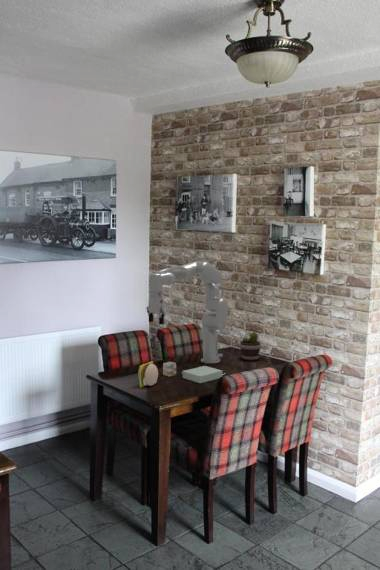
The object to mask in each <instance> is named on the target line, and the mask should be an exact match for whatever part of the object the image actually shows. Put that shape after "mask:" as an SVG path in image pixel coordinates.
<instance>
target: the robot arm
mask: <svg viewBox="0 0 380 570" xmlns="http://www.w3.org/2000/svg"><path fill="white" fill-rule="evenodd" d="M148 276H149V279H148V281H149V285H148V286H149V287H148V288H149V296H148V306H146V307H145V308H146V312H147V316H148V322H149V323H152V322H154V314H156V315H158V316H159V318H158V324H159V325H164V323H165V316H166V313H167V310H166V309H165V301H164V300H165V299H164V297H163V286H170V285H171V286H172V285H173V284H174V283H175V281H176V280H177V281H178V280H186V279H189V278H193V277H195V276H198V277H199V280H200V281H201V282H202V284H203V285H204V287H205V304H204V307H205V310H207V311H209V312H206V313H204V314H203V315H202V317H201V326H202V336H203V337H202V342H203V343H202V345H203V346H202V348H203V349H202V353H203V355H202V358H201V359H200V362H201V363H203V362H204V363H203V364H217V363H220V362H221V359H220V358H221V357H223V356H224V355H223V353H219V345H218V344H219V333H218V330H219V331H222V330H224V329H225V328H226V326H227V324H228V314H229V303H228V301H227V299H225V298H223V297H220V287H219V284H221V282H222V281H223V277H224V276H223V273H222V272H221V271H220V269H218V268H216V267H215V265H212V264H211V263H210V262H207V261H202V260H195V261H193V262H189V263H185V264H182V265H178V266H173V267H169V268H164V269H161V270H158V271H156V272H153V273H150V274H149V275H148ZM212 312H213V313H212Z"/></svg>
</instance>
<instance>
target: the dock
mask: <svg viewBox="0 0 380 570" xmlns="http://www.w3.org/2000/svg"><path fill="white" fill-rule="evenodd" d="M223 372H224V371H223V370H221V369H217V368H215V367H211V366H207V365H202V366H199V367H194V368H189V369H185V370H182V379H185V380H188V381H191V382H194V383H198V384H202V383H203V384H204V383H207V382H211V381H214V380H217V379H221V378H220V377H222V376H223ZM223 377H224V376H223ZM223 377H222V378H223Z"/></svg>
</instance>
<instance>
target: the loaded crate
mask: <svg viewBox="0 0 380 570" xmlns="http://www.w3.org/2000/svg"><path fill="white" fill-rule="evenodd" d="M176 363H177V362H173V361H167V362H163V363H162V375H163V376H165V377H166V376H167V377H173V376H177V364H176Z"/></svg>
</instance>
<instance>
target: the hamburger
mask: <svg viewBox="0 0 380 570" xmlns="http://www.w3.org/2000/svg"><path fill="white" fill-rule="evenodd" d="M137 373H138V375H137V378H138V383H139V388H143V387H145V386H149V387H151V386H154V385H155V384H157V381H158V378H159V370H158V367H157V365H155V363H154V361H153V360H152V361H149V362H147V363H142V364H141V365H139V368H138V372H137Z"/></svg>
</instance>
